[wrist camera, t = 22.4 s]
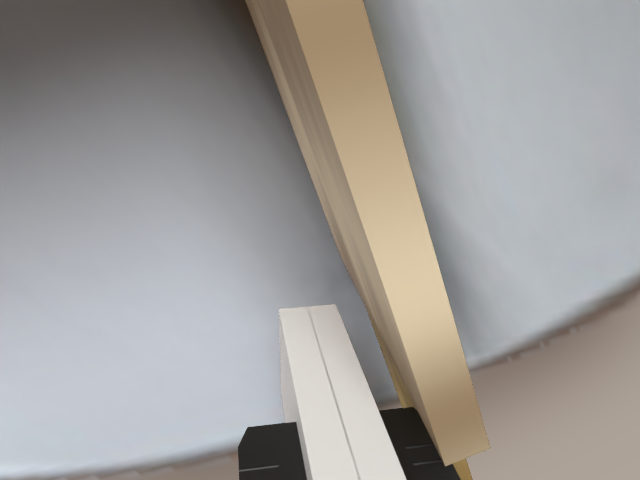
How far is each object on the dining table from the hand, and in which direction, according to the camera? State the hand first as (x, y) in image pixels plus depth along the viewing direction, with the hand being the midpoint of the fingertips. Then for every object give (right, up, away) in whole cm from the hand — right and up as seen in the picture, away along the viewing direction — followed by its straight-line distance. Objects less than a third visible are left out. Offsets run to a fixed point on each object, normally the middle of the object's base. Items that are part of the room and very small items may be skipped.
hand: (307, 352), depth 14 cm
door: (0, +7, 0) cm, 7 cm away
